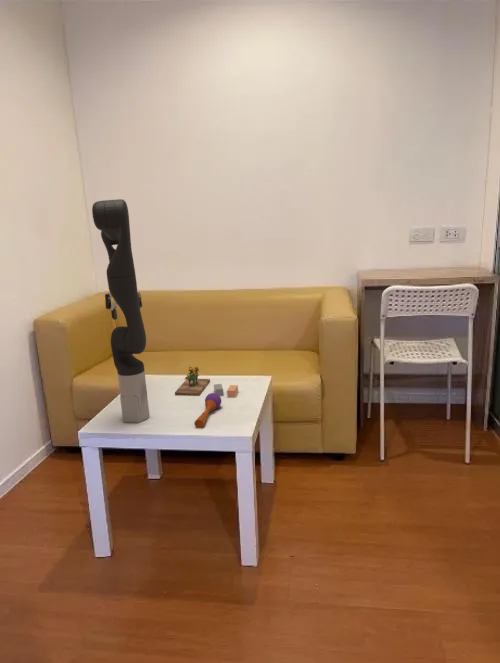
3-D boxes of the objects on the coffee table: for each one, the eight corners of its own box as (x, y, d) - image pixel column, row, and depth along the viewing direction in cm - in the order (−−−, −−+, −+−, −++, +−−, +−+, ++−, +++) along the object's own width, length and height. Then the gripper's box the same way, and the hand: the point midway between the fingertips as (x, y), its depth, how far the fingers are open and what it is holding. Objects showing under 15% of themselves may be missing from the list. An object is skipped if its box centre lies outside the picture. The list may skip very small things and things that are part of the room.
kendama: (188, 417, 173) (205, 391, 192) (193, 432, 175) (210, 405, 193) (204, 414, 172) (220, 389, 190) (209, 430, 173) (225, 403, 192)
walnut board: (199, 395, 203) (199, 392, 202) (175, 395, 205) (174, 392, 204) (210, 381, 218) (209, 378, 218) (187, 381, 220) (186, 378, 220)
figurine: (202, 380, 216) (201, 362, 214) (189, 390, 205) (187, 371, 203) (196, 380, 217) (194, 361, 215) (182, 390, 206) (180, 370, 204)
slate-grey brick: (223, 396, 201) (222, 388, 201) (215, 397, 201) (215, 389, 200) (221, 390, 207) (221, 383, 206) (214, 391, 207) (213, 384, 206)
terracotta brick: (235, 398, 199) (234, 390, 198) (227, 397, 199) (226, 390, 199) (238, 392, 204) (237, 385, 204) (230, 392, 205) (230, 385, 204)
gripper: (99, 280, 199) (104, 321, 203) (134, 279, 196) (138, 321, 200) (107, 277, 206) (112, 317, 210) (141, 276, 203) (146, 316, 207)
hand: (125, 319), depth 205 cm, fingers open, 8 cm apart
